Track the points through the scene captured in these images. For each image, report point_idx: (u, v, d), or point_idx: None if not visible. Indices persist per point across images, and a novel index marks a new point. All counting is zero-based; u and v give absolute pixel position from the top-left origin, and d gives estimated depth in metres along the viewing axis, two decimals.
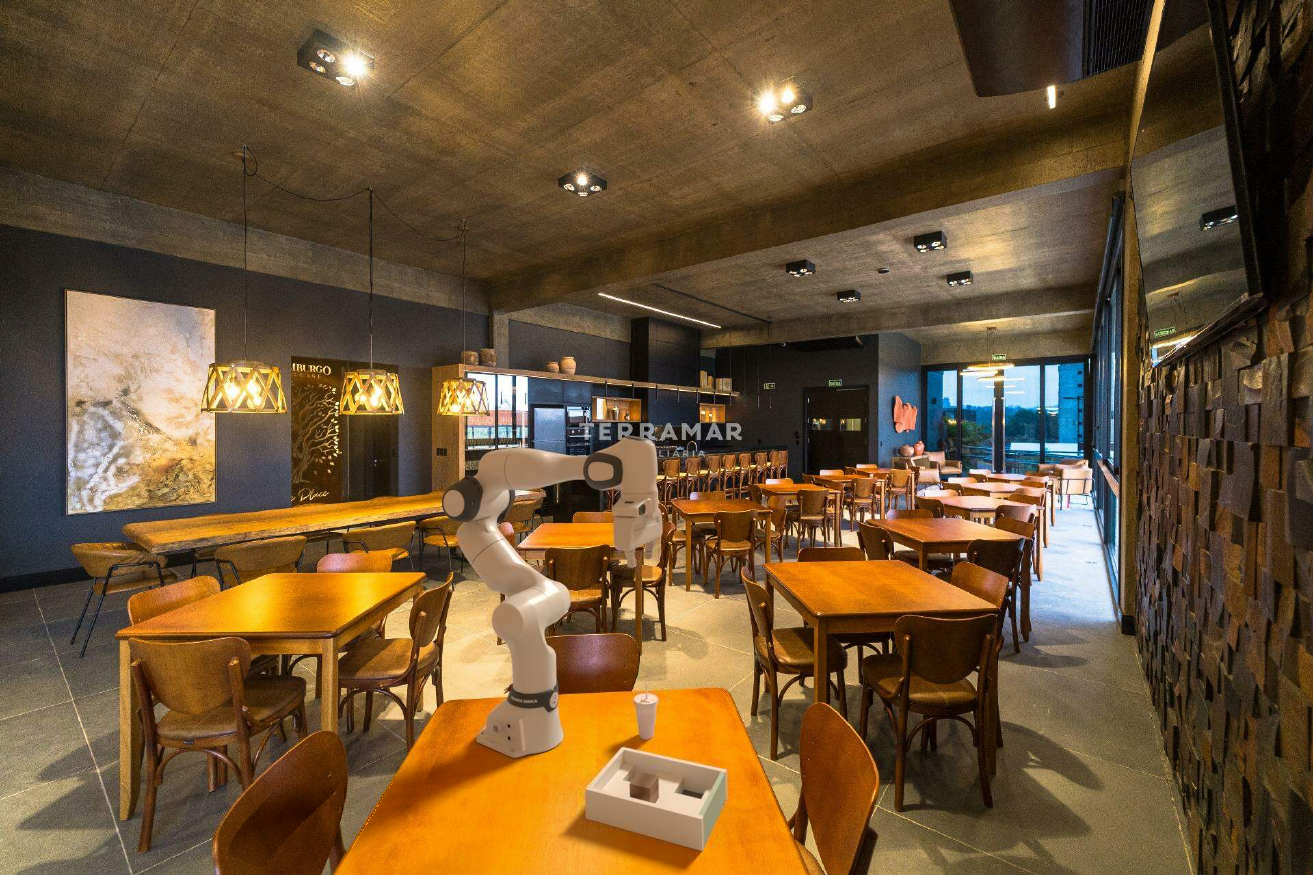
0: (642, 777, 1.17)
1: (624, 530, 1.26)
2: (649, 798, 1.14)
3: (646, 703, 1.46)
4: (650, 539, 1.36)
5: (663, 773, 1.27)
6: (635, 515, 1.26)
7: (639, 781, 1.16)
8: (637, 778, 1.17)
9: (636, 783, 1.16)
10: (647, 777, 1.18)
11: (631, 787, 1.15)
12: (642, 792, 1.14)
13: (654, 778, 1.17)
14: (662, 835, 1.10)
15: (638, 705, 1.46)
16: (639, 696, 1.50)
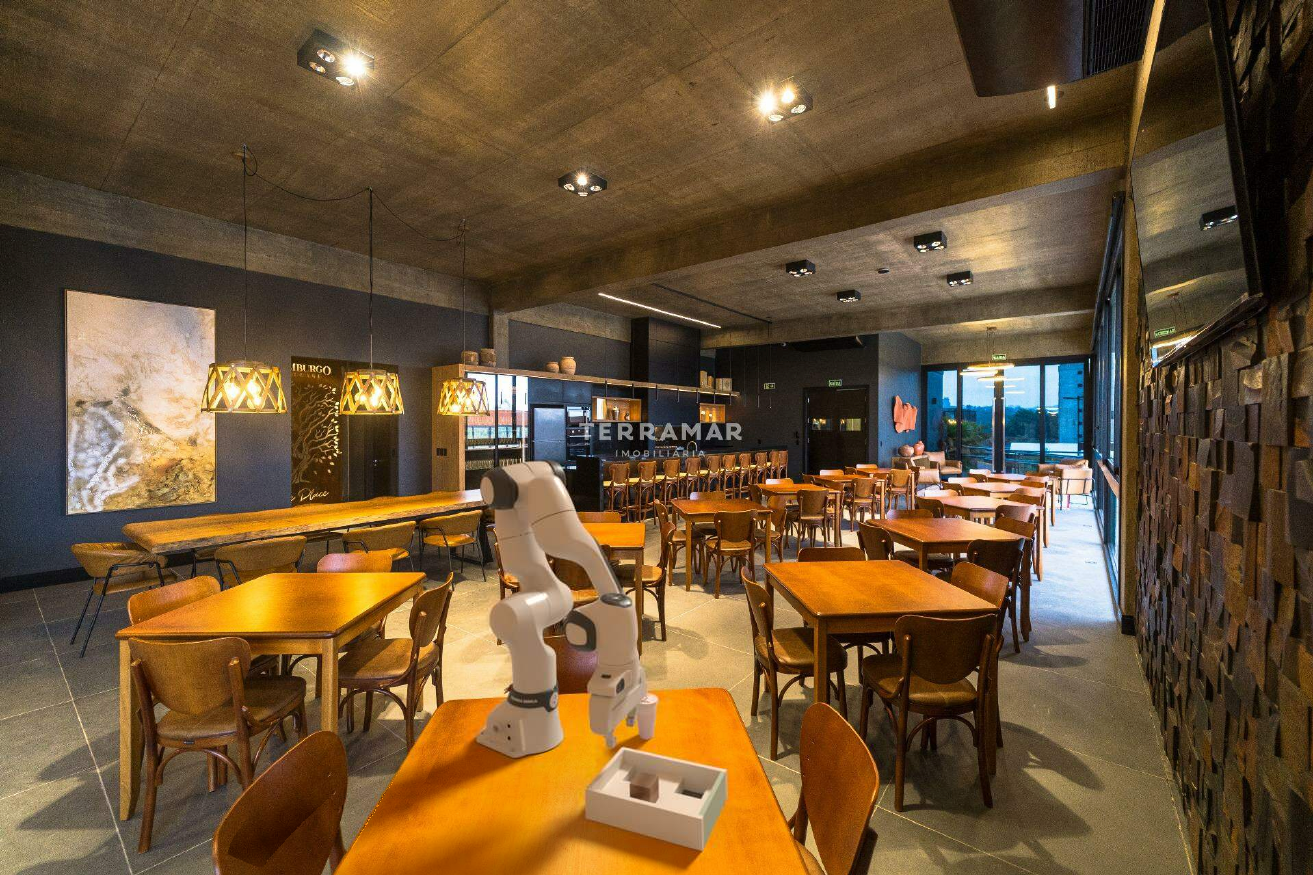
0: (642, 777, 1.17)
1: (601, 713, 1.14)
2: (649, 798, 1.14)
3: (646, 703, 1.46)
4: (632, 708, 1.24)
5: (663, 773, 1.27)
6: (612, 695, 1.14)
7: (639, 781, 1.16)
8: (637, 778, 1.17)
9: (636, 783, 1.16)
10: (647, 777, 1.18)
11: (631, 787, 1.15)
12: (642, 792, 1.14)
13: (654, 778, 1.17)
14: (662, 835, 1.10)
15: (638, 705, 1.46)
16: None
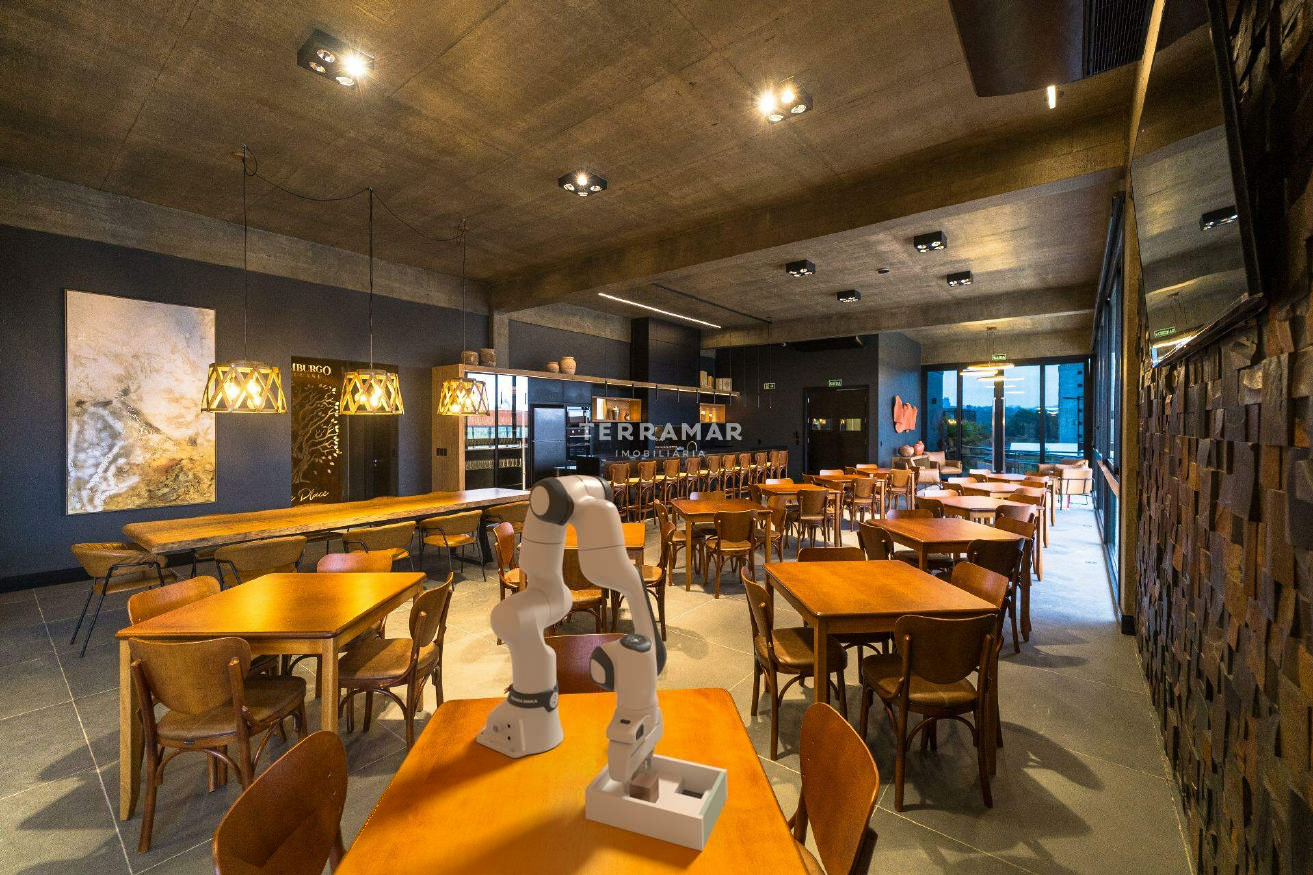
0: (642, 777, 1.17)
1: (620, 761, 1.12)
2: (649, 798, 1.14)
3: None
4: (649, 751, 1.23)
5: (663, 773, 1.27)
6: (632, 742, 1.13)
7: (639, 781, 1.16)
8: (637, 778, 1.17)
9: (636, 783, 1.16)
10: (647, 777, 1.18)
11: (631, 787, 1.15)
12: (642, 792, 1.14)
13: (654, 778, 1.17)
14: (662, 835, 1.10)
15: None
16: None
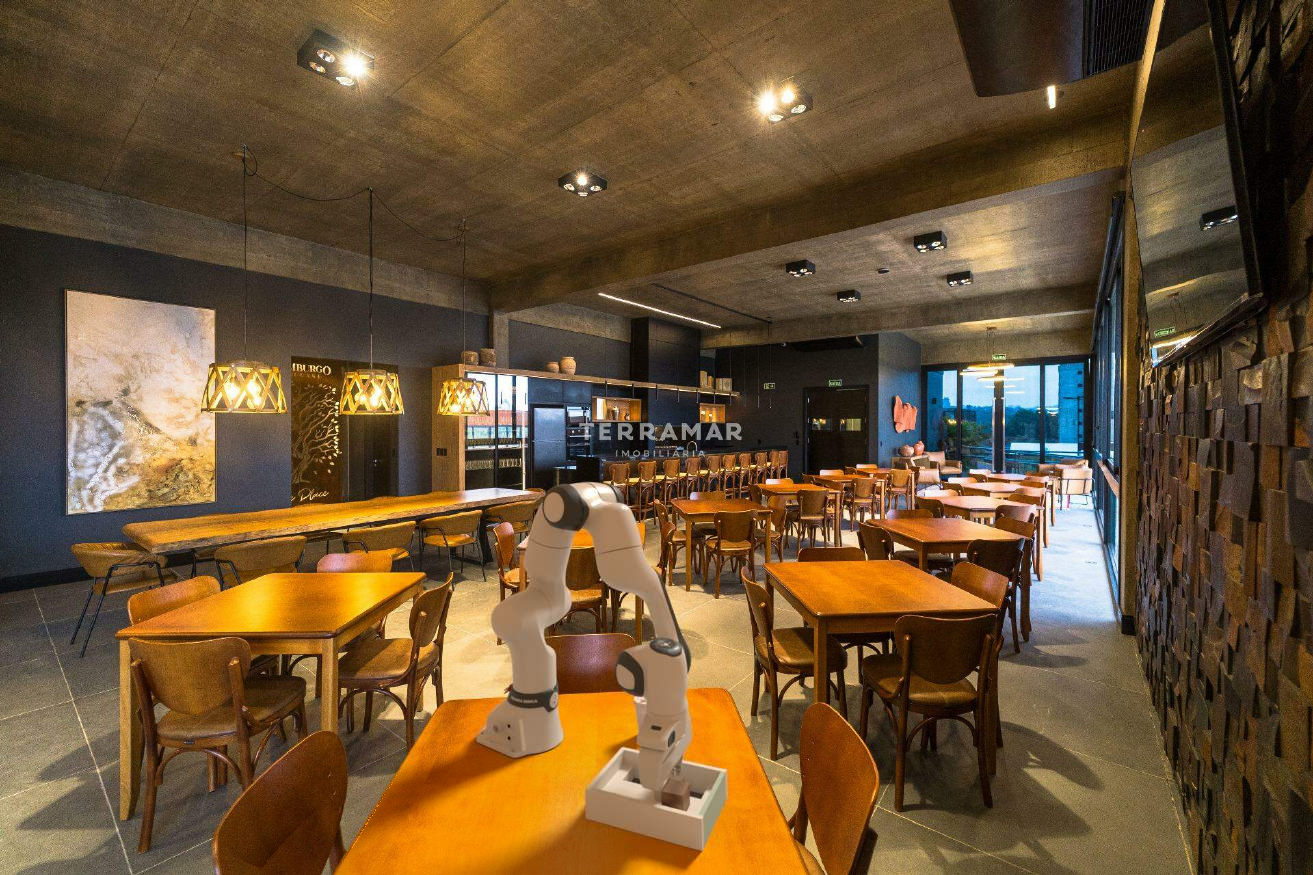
0: (673, 784, 1.15)
1: (652, 768, 1.10)
2: (682, 806, 1.11)
3: None
4: (679, 757, 1.20)
5: None
6: (664, 749, 1.10)
7: (671, 789, 1.13)
8: (668, 785, 1.15)
9: (668, 790, 1.13)
10: (678, 783, 1.15)
11: (663, 795, 1.13)
12: (675, 800, 1.12)
13: (685, 785, 1.15)
14: (662, 835, 1.10)
15: (638, 705, 1.46)
16: None
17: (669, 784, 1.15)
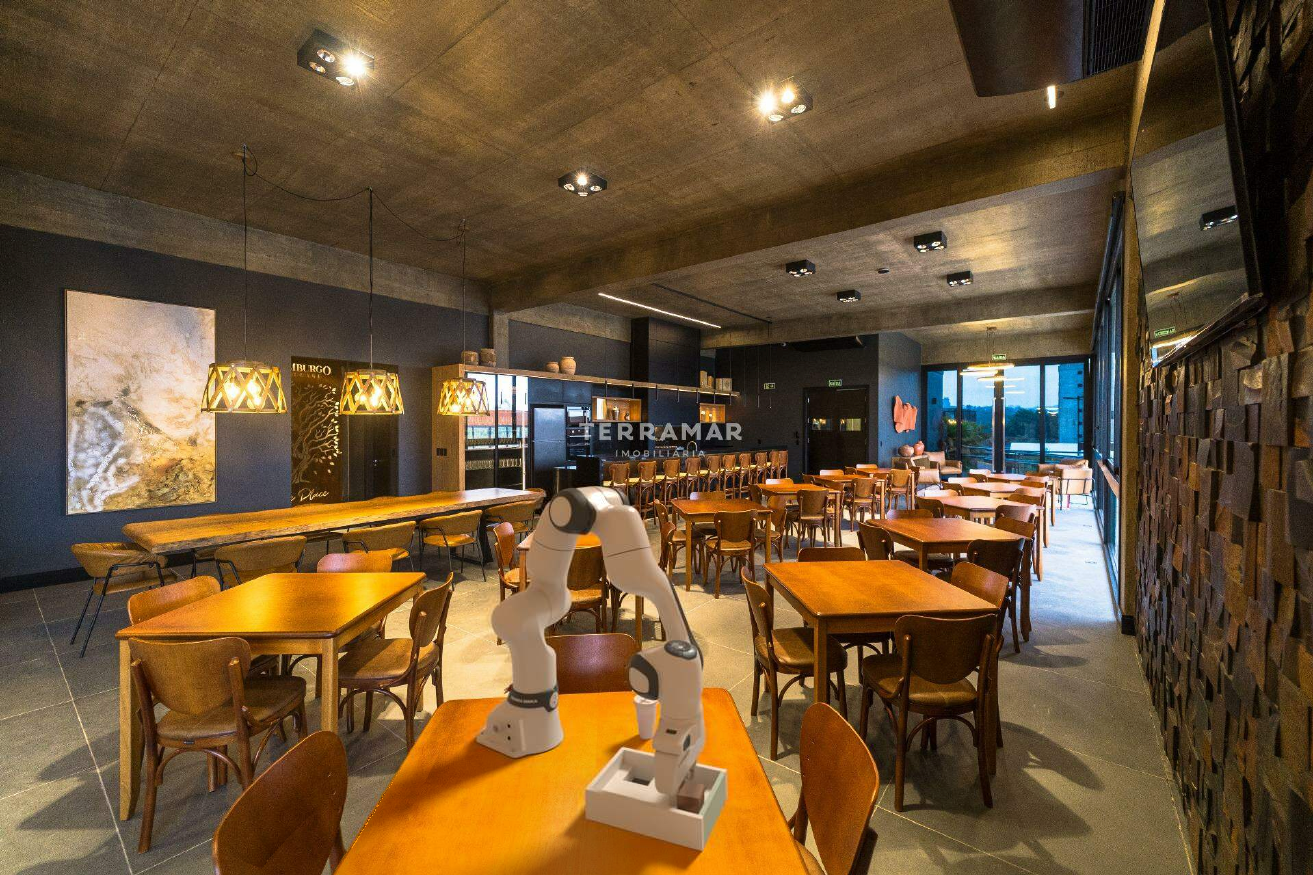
0: (688, 787, 1.14)
1: (667, 772, 1.08)
2: (698, 809, 1.10)
3: (646, 703, 1.46)
4: (693, 761, 1.19)
5: None
6: (680, 754, 1.09)
7: (686, 792, 1.12)
8: (683, 788, 1.13)
9: (683, 793, 1.12)
10: (693, 786, 1.14)
11: (678, 798, 1.12)
12: (690, 803, 1.11)
13: (700, 787, 1.14)
14: (662, 835, 1.10)
15: (638, 705, 1.46)
16: (639, 696, 1.50)
17: (684, 787, 1.14)
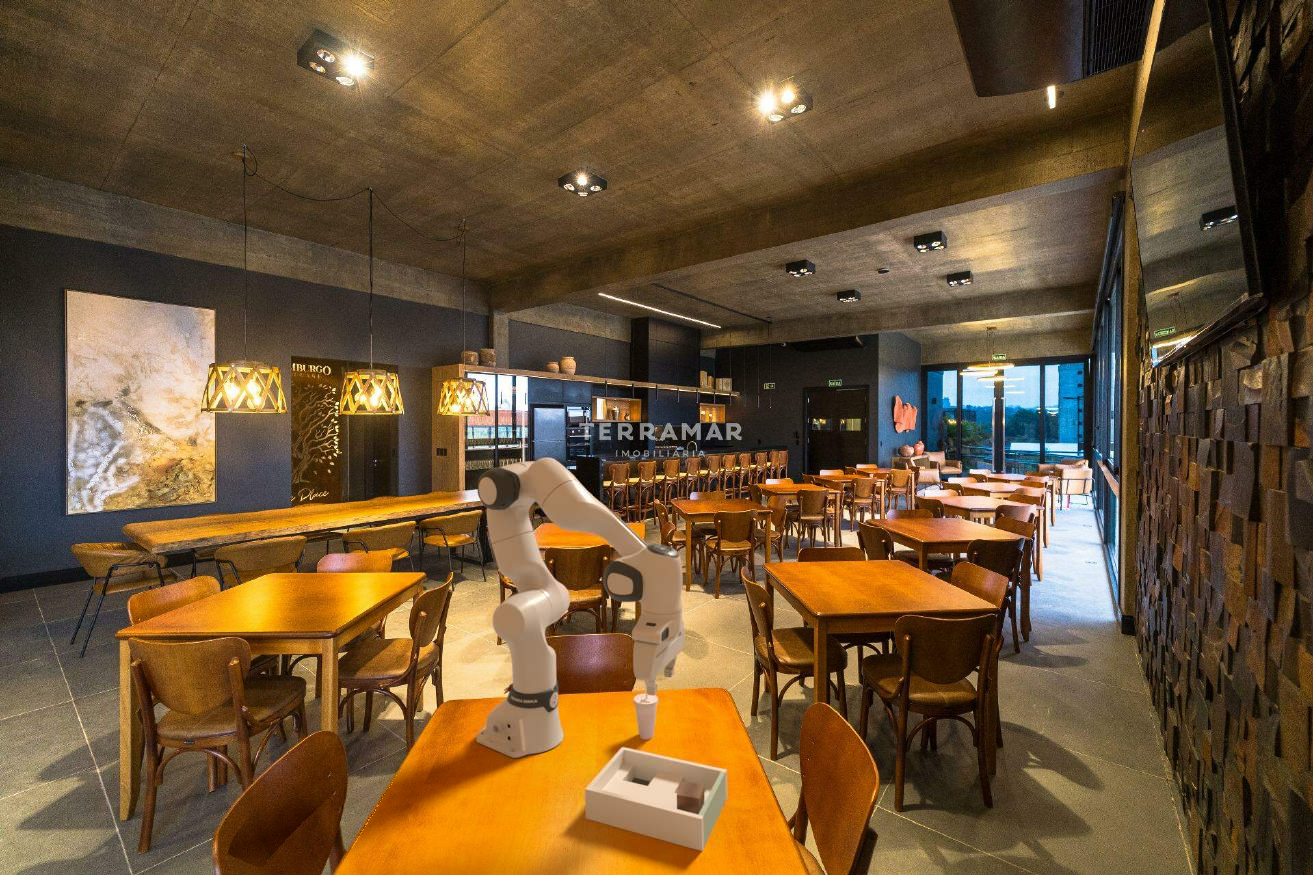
0: (688, 787, 1.14)
1: (645, 659, 1.14)
2: (698, 809, 1.10)
3: (646, 703, 1.46)
4: (672, 658, 1.25)
5: (663, 773, 1.27)
6: (658, 642, 1.15)
7: (686, 792, 1.12)
8: (683, 788, 1.13)
9: (683, 793, 1.12)
10: (693, 786, 1.14)
11: (678, 798, 1.12)
12: (690, 803, 1.11)
13: (700, 787, 1.14)
14: (662, 835, 1.10)
15: (638, 705, 1.46)
16: (639, 696, 1.50)
17: (684, 787, 1.14)
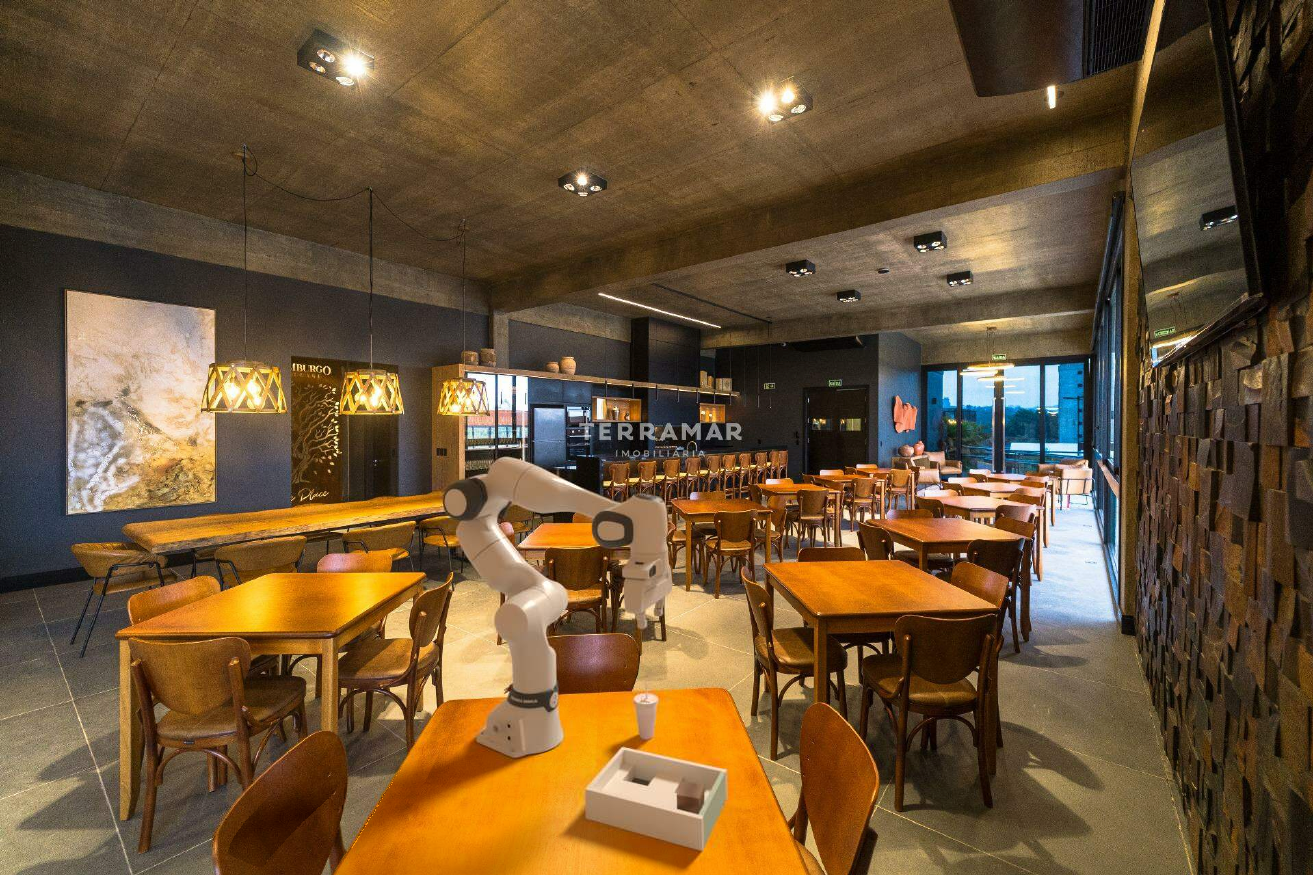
0: (688, 787, 1.14)
1: (635, 593, 1.25)
2: (698, 809, 1.10)
3: (646, 703, 1.46)
4: (660, 597, 1.36)
5: (663, 773, 1.27)
6: (646, 578, 1.26)
7: (686, 792, 1.12)
8: (683, 788, 1.13)
9: (683, 793, 1.12)
10: (693, 786, 1.14)
11: (678, 798, 1.12)
12: (690, 803, 1.11)
13: (700, 787, 1.14)
14: (662, 835, 1.10)
15: (638, 705, 1.46)
16: (639, 696, 1.50)
17: (684, 787, 1.14)
